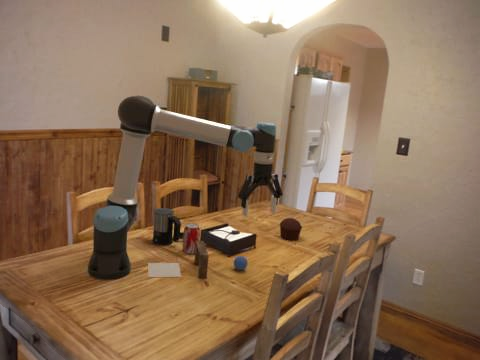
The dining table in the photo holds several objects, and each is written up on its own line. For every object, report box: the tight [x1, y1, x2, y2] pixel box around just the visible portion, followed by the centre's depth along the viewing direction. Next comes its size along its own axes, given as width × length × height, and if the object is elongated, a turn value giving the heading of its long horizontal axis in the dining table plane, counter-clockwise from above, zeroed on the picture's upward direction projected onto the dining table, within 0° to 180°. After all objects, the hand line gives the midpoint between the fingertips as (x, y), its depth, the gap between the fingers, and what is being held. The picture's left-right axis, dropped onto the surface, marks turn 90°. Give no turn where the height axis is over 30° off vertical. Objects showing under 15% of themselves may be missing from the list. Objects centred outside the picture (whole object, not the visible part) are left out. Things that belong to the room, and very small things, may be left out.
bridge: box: [194, 240, 210, 279], centre depth 155 cm, size 3×14×9 cm, turn 13°
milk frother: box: [151, 207, 184, 246], centre depth 182 cm, size 14×16×15 cm
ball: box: [233, 255, 248, 271], centre depth 159 cm, size 6×6×6 cm
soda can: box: [182, 223, 201, 255], centre depth 171 cm, size 7×7×12 cm
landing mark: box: [147, 262, 182, 279], centre depth 153 cm, size 12×12×1 cm
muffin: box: [279, 217, 303, 242], centre depth 201 cm, size 12×11×10 cm
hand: (259, 214), depth 161 cm, fingers open, 13 cm apart
